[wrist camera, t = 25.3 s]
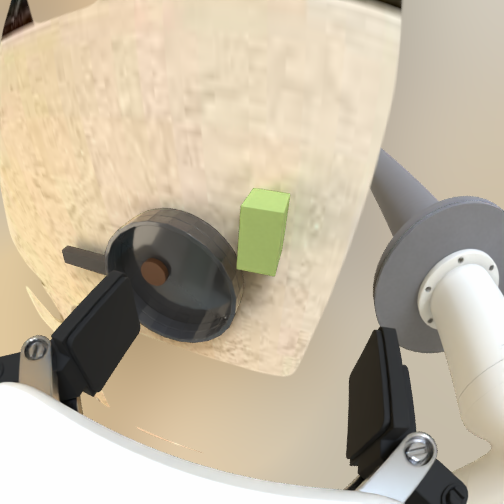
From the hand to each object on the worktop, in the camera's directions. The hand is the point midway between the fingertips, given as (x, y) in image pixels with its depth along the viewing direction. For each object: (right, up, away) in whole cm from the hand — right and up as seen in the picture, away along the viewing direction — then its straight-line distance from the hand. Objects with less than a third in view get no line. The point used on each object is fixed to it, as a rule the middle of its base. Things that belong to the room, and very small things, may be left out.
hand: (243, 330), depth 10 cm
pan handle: (-25, +2, +30) cm, 39 cm away
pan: (-10, 0, +29) cm, 31 cm away
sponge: (+2, +6, +22) cm, 23 cm away
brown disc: (-13, 0, +29) cm, 32 cm away
